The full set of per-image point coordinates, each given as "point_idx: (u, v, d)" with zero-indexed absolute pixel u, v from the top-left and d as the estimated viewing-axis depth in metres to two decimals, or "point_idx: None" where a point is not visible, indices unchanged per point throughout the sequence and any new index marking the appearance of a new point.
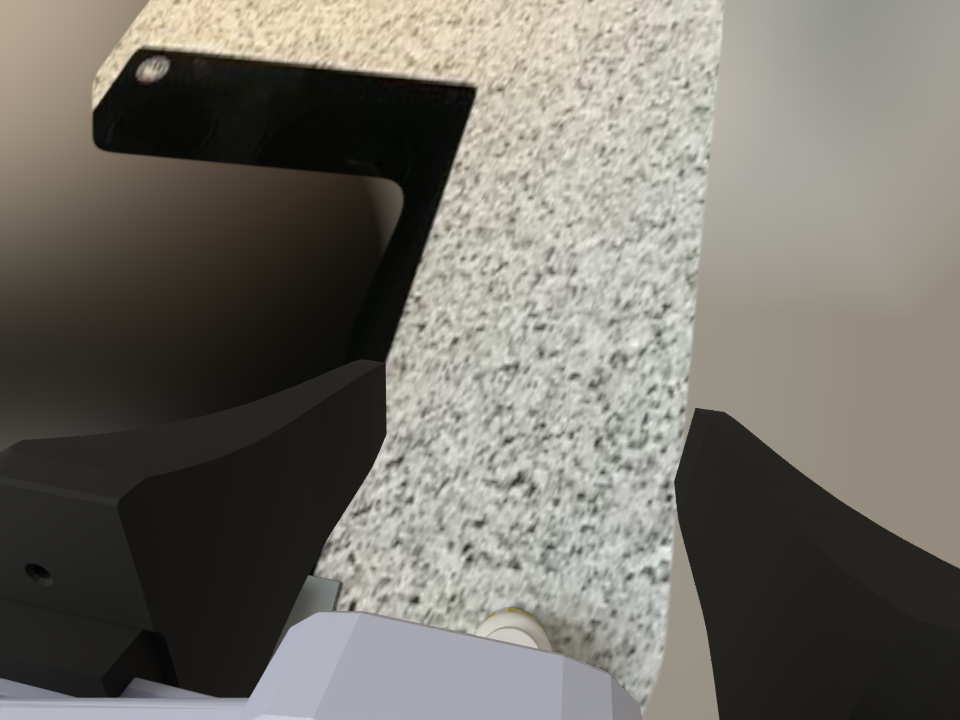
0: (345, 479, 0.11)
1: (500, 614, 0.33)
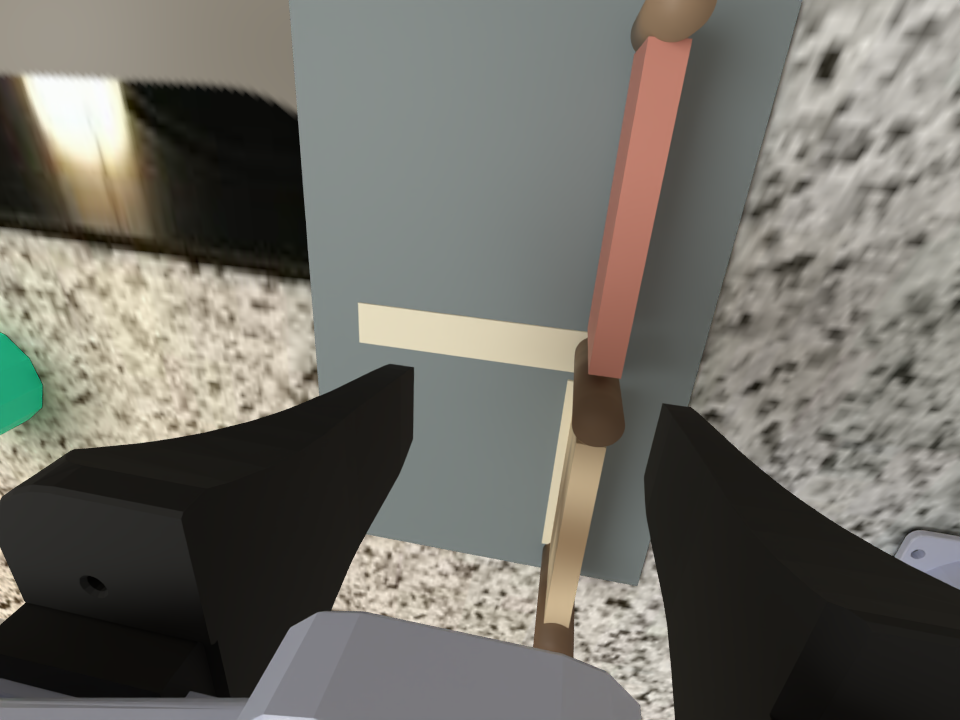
0: (376, 484, 0.11)
1: None
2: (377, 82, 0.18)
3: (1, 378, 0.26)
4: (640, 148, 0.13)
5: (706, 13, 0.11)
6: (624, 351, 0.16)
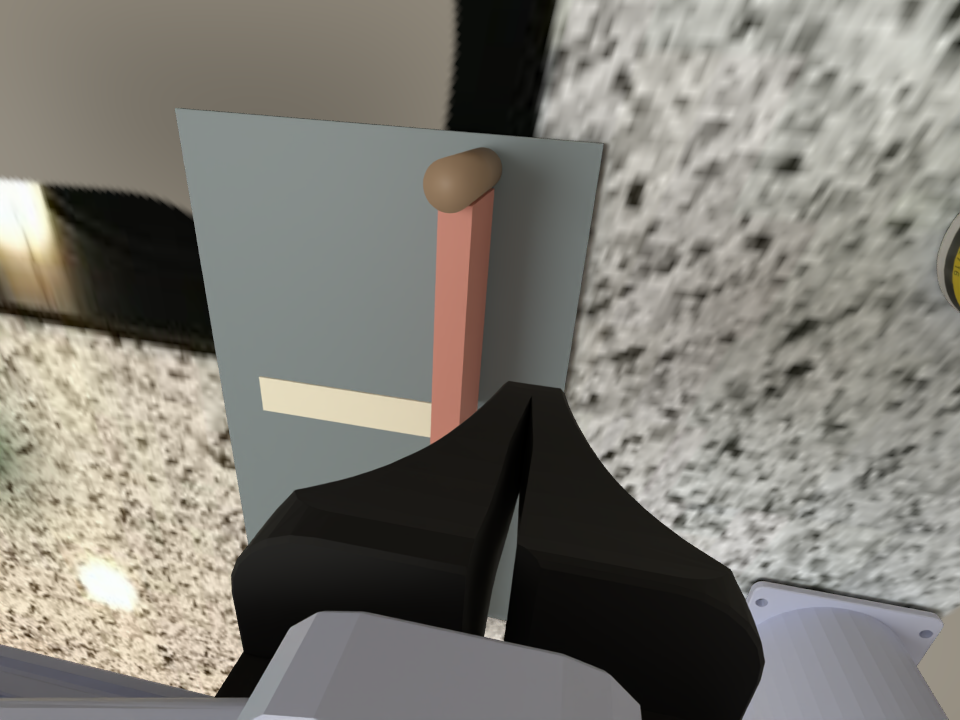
0: (509, 508, 0.10)
1: None
2: (258, 196, 0.20)
3: None
4: (444, 286, 0.16)
5: (468, 197, 0.14)
6: None
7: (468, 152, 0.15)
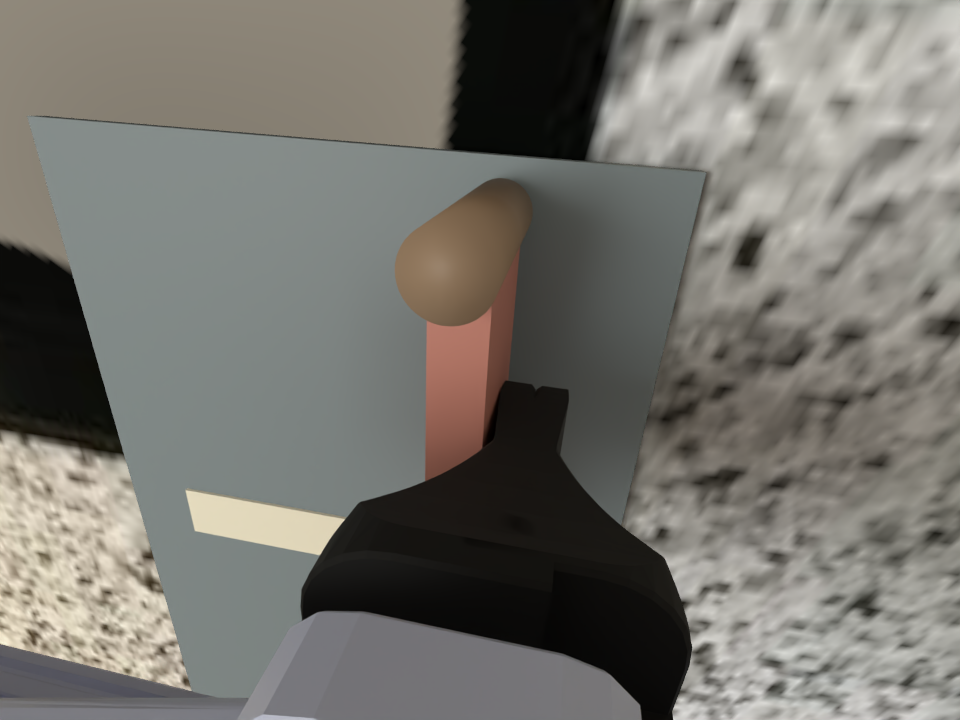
0: None
1: None
2: (164, 247, 0.14)
3: None
4: (442, 432, 0.09)
5: (485, 298, 0.07)
6: None
7: (481, 197, 0.08)
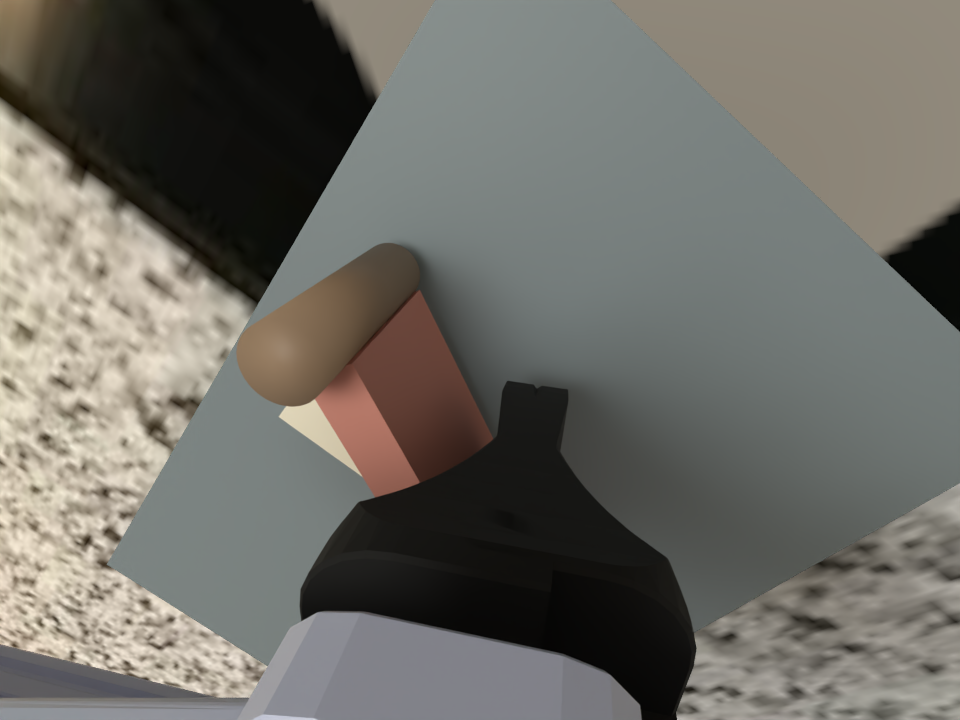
0: None
1: None
2: (524, 147, 0.11)
3: None
4: (385, 488, 0.10)
5: (317, 368, 0.08)
6: None
7: (323, 279, 0.09)
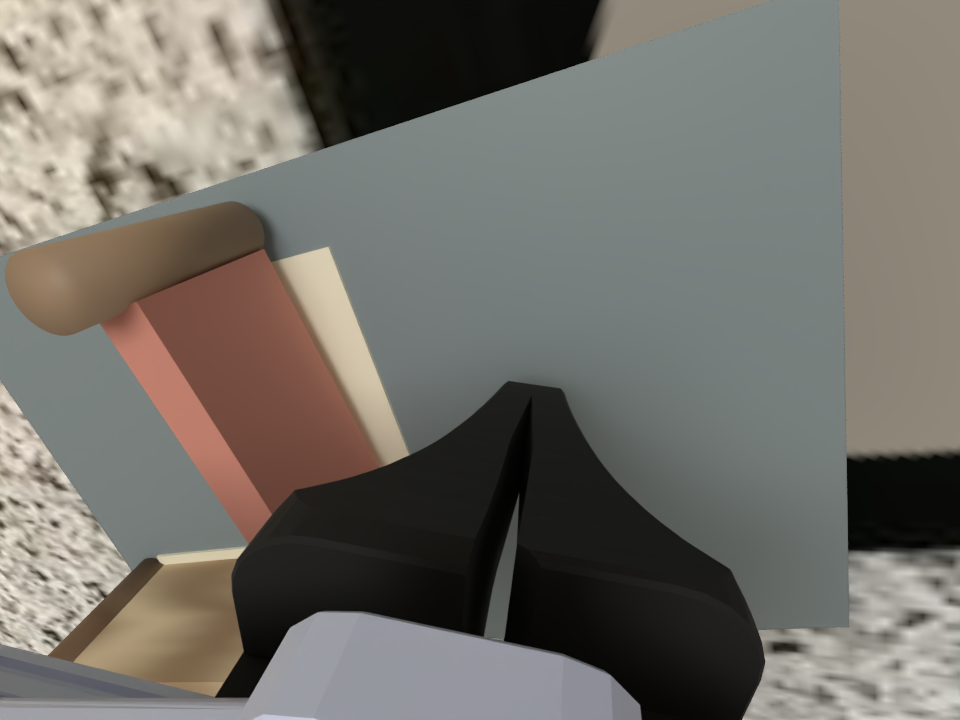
0: (509, 508, 0.10)
1: None
2: (683, 199, 0.11)
3: None
4: (183, 427, 0.10)
5: (78, 298, 0.08)
6: None
7: None
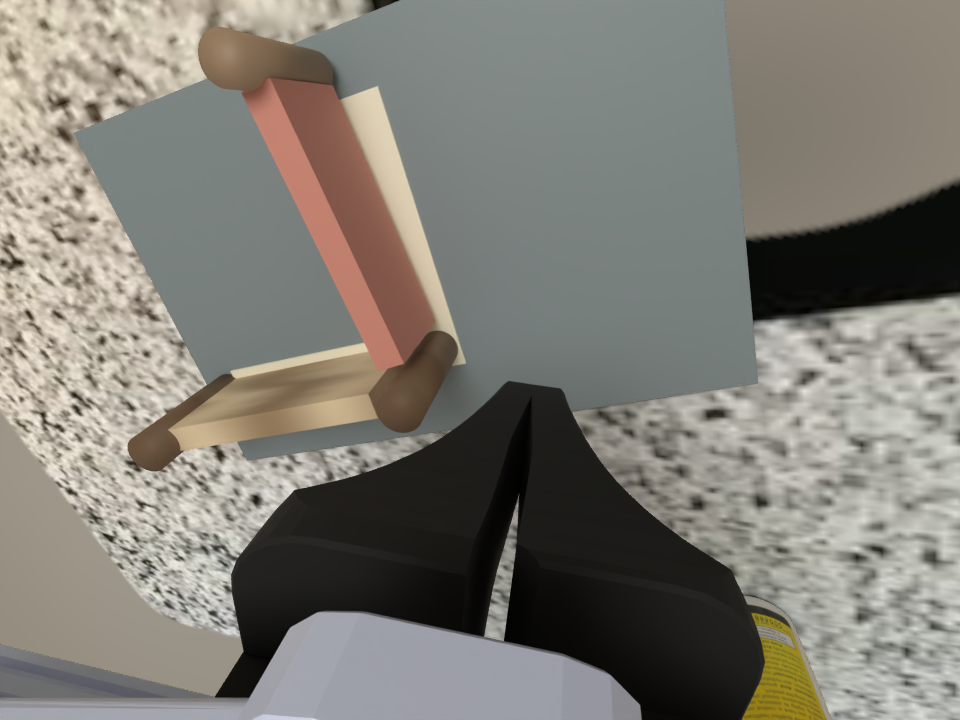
0: (509, 508, 0.10)
1: None
2: (623, 35, 0.16)
3: None
4: (291, 175, 0.15)
5: (244, 59, 0.13)
6: (390, 339, 0.17)
7: None
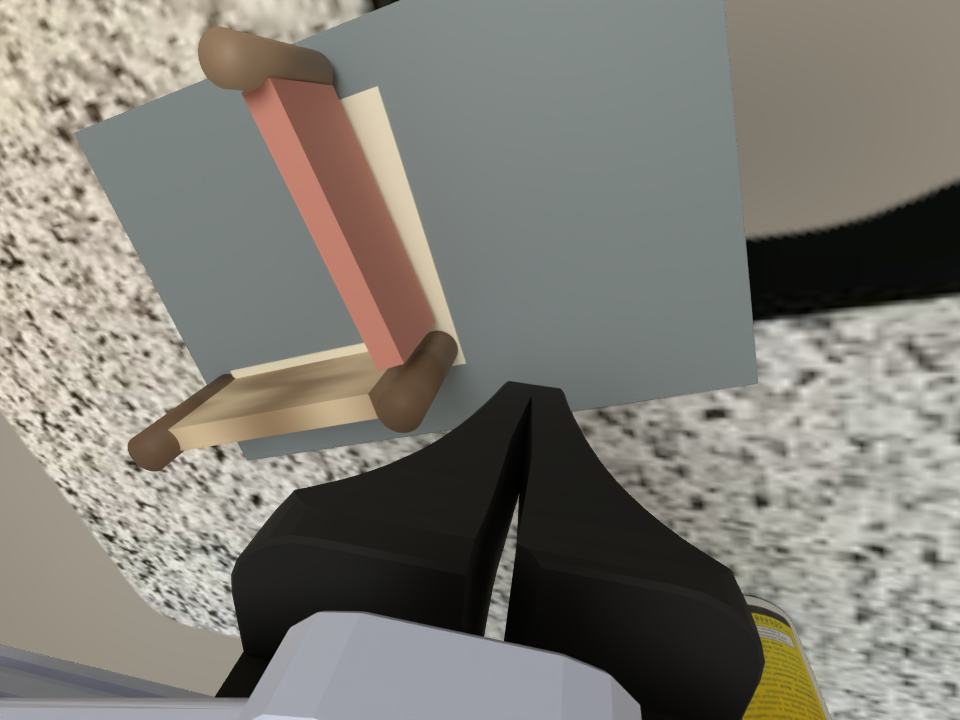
0: (509, 508, 0.10)
1: None
2: (623, 35, 0.16)
3: None
4: (291, 175, 0.15)
5: (244, 59, 0.13)
6: (390, 339, 0.17)
7: None
